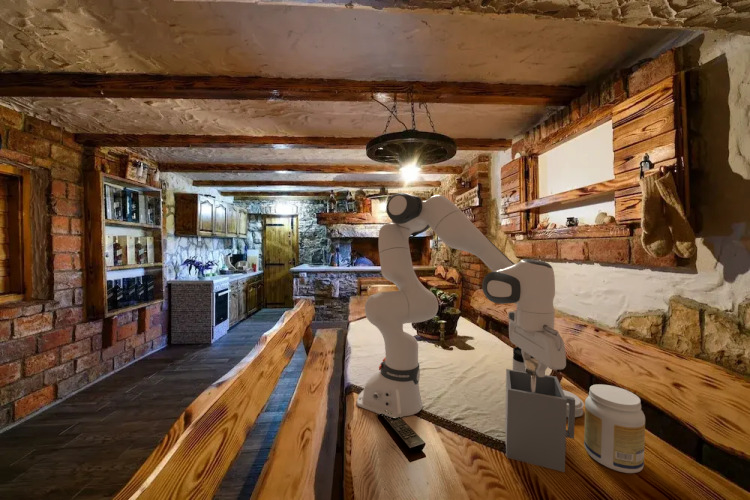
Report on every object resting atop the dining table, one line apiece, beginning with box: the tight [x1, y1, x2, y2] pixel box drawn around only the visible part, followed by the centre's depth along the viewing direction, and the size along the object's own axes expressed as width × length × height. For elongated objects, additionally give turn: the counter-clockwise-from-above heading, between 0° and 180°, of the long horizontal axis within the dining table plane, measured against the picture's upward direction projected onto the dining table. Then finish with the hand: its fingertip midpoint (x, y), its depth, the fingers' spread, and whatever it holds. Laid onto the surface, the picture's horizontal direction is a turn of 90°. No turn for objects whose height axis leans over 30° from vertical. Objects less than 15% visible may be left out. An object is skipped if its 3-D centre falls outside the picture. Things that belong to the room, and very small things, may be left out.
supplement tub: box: [583, 383, 646, 474], centre depth 77 cm, size 12×12×17 cm
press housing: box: [504, 368, 576, 473], centre depth 80 cm, size 16×13×18 cm
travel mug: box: [512, 346, 535, 372], centre depth 100 cm, size 6×7×20 cm
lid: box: [562, 389, 585, 418], centre depth 100 cm, size 13×13×5 cm
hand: (533, 371), depth 80 cm, fingers closed on plunger, 4 cm apart
